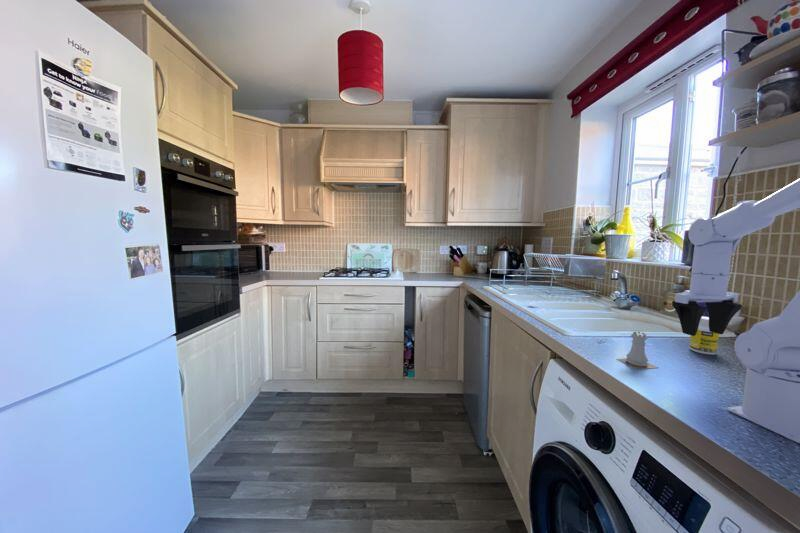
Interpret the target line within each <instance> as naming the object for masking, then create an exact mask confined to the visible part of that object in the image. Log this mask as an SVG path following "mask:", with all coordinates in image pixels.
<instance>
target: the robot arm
mask: <svg viewBox="0 0 800 533" xmlns="http://www.w3.org/2000/svg"><path fill="white" fill-rule="evenodd" d="M797 209H800V178H798V179H796V180H794V181H793V182H792V183H789V184H788V185H786V186H784V187H783V188H781V189H779V190H777V191H775V192H774V193H772V194H770V195H768V196H767V197H765V198H763V199H761V200H752V199H751V200H740V201H737V203H736V206H734V207H732V208H730V209H727V210H726V211H724V212H719V213H718V214H716V215H715V216H714V217H712V218H704V217H703V218H701V217H700V218H697V219H696V220H695V221H694V222H692V223H691V225H690V226H689V229H688V240H689V241H690V243H691V244H692V245H694V248H693V256H692V265H691V273H690V282H689V283H690V284H689V290H687V289H686V290H684V291H682V292H677V293H675V299H674V300H672V302H671V305H672V307H673V308H674V310H675V312H676V314H677V316H678V319H679V323H680V327H681V332H682V334H684V335H689V336H690V337H691V336H695V335H696V333H697V330H698V326H699V322H700V319H701V317H702V316H703V315H704V313H705V312H706V311H707V314H708V317H709V330H710V332H714V333H717V334H719V335H723V334H724V332H725V331H726V329H727V328H728V326H729V324H730V322H731V320H733V317H734V316H735V315H736V314H737V313H738V312H739V311H740V310H742V307H743V305H742V304H740V303H738V302H739V296H740V295H739V293H736V292H730V291H728V287H729V286H728V285H729V280H730V272H731V264H732V255H733V254H735V252H737V246H738V244H739V243H740V242H741V240H742V238H743V237H745V236H748V235H749V234H752V233H755V232H758V231H761V229H765V228H767V227H770V226H771V225H772V224H773V223H774V222H775V220H776V217H778V216H781V215H784V214H786V213H789V212H792V211H794V210H797ZM699 303H704V304H705V306H702V305H699ZM733 349H734V352H735V354H736V356H737V358H738V360H739V361H740V362H741V363H742V366H744V367H746V373H745V374H746V375H745V380H744V390H743V395H742V402H741V403H742V404H741V405H739V406H737V405H736V406H727V408H726V410H727V411H729V412H731V413H733V414H735V415H737V416H739V417H742V418H744V419H746V420H747V421H750V422H752V423H755V424H756V425H758V426H760V427H763V428H765V429H767V430H769V431H772V432H774V433H776V434H778V435H781V436H782V437H784V438H787V439H789V440H791V441H794V442H796V443H798V444H800V289H799V290H798V291H797V293H796V294H795V296H794V297H792V299H791V301H790V302H789V303H788V304H787V305H786V307H785V308H784V309H783V310H782V311H781V313H780V314H779V315H777V316H774V317H771V318H769V319H766V320H762V321H759V322H756V323H754V324H753V325H752V327H751V328H750V329H749V330H747V331H744V332H741V333H740V334H739V335H738V336H737V337H736V339H735V342H734V348H733Z"/></svg>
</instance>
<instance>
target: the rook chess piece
mask: <svg viewBox="0 0 800 533" xmlns="http://www.w3.org/2000/svg"><path fill="white" fill-rule="evenodd" d="M630 337H631V338H632V340H631V344H632V345H631V348H630V351H629V352H628V353H627V354H626V357H625V358H626V361H627V362H628V363H629V364H631V365H634V366H638V367H645V366H647V365H648V363H649V359H648V357H647V354H646V351H645V347H646V345H647V343H646V341H647V340H648V336H647V333H645V332H643V331H642V332H641V331H636V330H634V331H633V332H632V334H630Z"/></svg>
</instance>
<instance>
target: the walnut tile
mask: <svg viewBox="0 0 800 533" xmlns="http://www.w3.org/2000/svg"><path fill="white" fill-rule="evenodd" d="M626 358H627V357H625V358H616V359H615V360H617V361H619V362H621V363H623V364H625V365H628V366H629V367H630V368H633V369H636V370H650V369H659V368H660V367H659V366H657V365H654V364H651V363H649V362H647V363H648V365H647V366H645V367H638V366H634V365H631V364H629V363H628V362H627V361H626Z"/></svg>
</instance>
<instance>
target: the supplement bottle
mask: <svg viewBox="0 0 800 533" xmlns="http://www.w3.org/2000/svg"><path fill="white" fill-rule="evenodd" d="M719 336H720V334H717V333H714V332H710V330H709V316H703V315H702V317H701V319H700V322H699V326H698V330H697V333H696V335H695V336H691V335H690V338H689V345H688V346H689V350H691V351H693V352H696V353H699V354H703V355H710V356H711V355H712V356H713V355H716V354H717V351H718V344H719V338H720V337H719Z"/></svg>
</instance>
